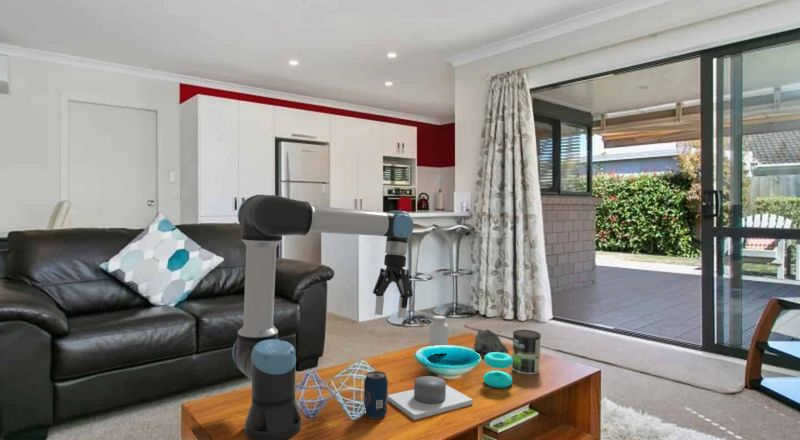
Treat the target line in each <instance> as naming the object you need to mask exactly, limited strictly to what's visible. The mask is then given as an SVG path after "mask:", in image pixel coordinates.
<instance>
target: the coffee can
mask: <svg viewBox="0 0 800 440" xmlns="http://www.w3.org/2000/svg"><path fill="white" fill-rule="evenodd" d="M512 336H513V337H512V356H511V357H512V359H513V363H512V365H511V369H513V370H512V371H513V372H515V371H516V372H515V373H517V374H521V373H522V375H529V374H530V375H536V373H537V374H539V373H540V360H541V359H540V357H541V337H542V334H541V333H540V332H538V331H535V330H530V329H516V330H514V331H512ZM538 372H539V373H538Z"/></svg>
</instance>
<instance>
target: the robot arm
mask: <svg viewBox="0 0 800 440" xmlns="http://www.w3.org/2000/svg"><path fill="white" fill-rule="evenodd" d="M237 211H238V212H237V221H238V223H239V225H240V227H241V239H240V240H241V241H242V242H243V243H244V245H245V248H246V251H245V277H244V297H243V298H244V301H243V302H244V304H243V325H242V327H241V328H240V329H238V331H237V339H236V341H235V342H234V345H233V346H232V355H231V356H232V359H233V362H234V364H235V366H236V368H237V369H238V370H239V371H240V372H241V373H243V374H244V375H245V376H246V378H248V379H249V380H250V381H251V405H250V407H249V410H248V412H247V413H248V414H247V416H246V419H245V423H244V433H245V435H246V437H247V438H249V439H251V440H286V439H288V438H291V437H293V436H295V435H296V434H298V433H299V432H300V431H301V429H302V416H301V413H300V410H299V406H298V405H297V401H296V365H297V364H296V363H297V356H296V349H295V347H294V345H293V344H291V343H290V342H288V341H286V340H281V339H279V337H278V336H279V329H278V328H276V327H275V325H274V316H275V315H274V314H275V313H274V312H275V291H276V290H275V289H276V288H275V287H276V286H275V285H276V268H277V267H276V265H277V264H276V263H277V262H276V261H277V247H278V245H279V244H280V243H281V242H282V241H283V236H285V237H286V236H307V235H308V234H310V233H324V234H341V235H359V236H360V235H361V236H377V237H386V240H385V241H386V242H385V250H384V252H385V255H384V259H383V260H384V261H383V264H384V266H386V268H383V267H382V268H380V270H379V275H378V278H377V281H376V283H375V286H374V288H373V289H372V290H373V291H372V293H373V294H374V295H375V297H376V299H375V308H374V309H375V311H374V315H376V316H377V315H378V316H379V315H380V316H383V314H384V313H383V312H384V311H383V310H384V301H385V292H386V291H387V289H388V287H389V286H390V285H391V283H395V285H396V287H397V290H398V292H399V295H400V296H399V298H398V307H397V308H398V310H397V318H399V319H406V315H407V308H408V301H409V300H408V299H409V298H411V297H413V294H414V293H413V291H412V290H413V289H412V286H411V279H410V276H409V274H410V270H409V268H405V267H406V265H407V263H406V262H407V250H408V242H409V241H408V240H409V236H410V235H412V232H413V231H414V227H415V226H414V225H415V224H414V221H413V218H412V217H411V216H410V214H409V213H408V211H403V210H395V209H394V210H391V211H389V212H384V211H383V212H382V211H374V210H368V209H352V208H341V207H331V206H319V205H312V204H311V202H310V201H306V200H305V201H304V200H298V199H292V198H289V197H284V196H282V195H281V196H280V195H276V194H271V195H270V194H256V195H252V196H250V197H248V198H246V199H245V200H243V201H242V203H241V204H240V206H239V208H238V210H237Z"/></svg>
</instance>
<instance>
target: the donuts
mask: <svg viewBox="0 0 800 440" xmlns="http://www.w3.org/2000/svg"><path fill="white" fill-rule="evenodd" d="M512 357H513V356H511V355H510V354H508V353H501V352H491V353H485V355H484V358H483V360H484V363H485V364H486V365H487V366H489V367H490V368H494V369H506V368H509V367H512V363H513V359H512ZM483 381H484V383H485V384H486V385H487V386H489V387H491V388H497V389H501V388H502V389H504V388H508V387H510V386H512V384H513V378H512V376H511V375H510V374H509V373H508V372H505V371H502V370H490V371H487V372H486V373H485V374H484V375H483Z"/></svg>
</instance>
